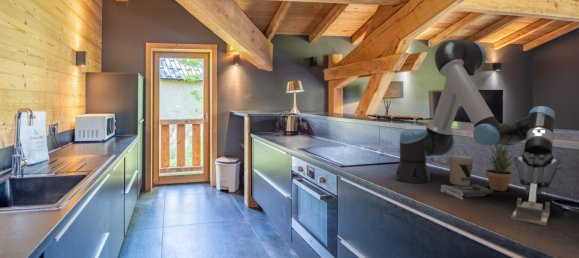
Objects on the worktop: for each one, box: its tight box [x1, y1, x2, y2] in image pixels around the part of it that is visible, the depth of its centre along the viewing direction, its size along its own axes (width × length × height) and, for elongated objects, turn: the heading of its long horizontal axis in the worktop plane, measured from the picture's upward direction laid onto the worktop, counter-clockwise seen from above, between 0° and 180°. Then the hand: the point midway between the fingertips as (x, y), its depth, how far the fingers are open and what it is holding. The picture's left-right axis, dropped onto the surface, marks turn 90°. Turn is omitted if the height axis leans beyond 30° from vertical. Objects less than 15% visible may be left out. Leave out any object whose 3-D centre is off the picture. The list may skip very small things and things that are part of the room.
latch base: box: [510, 197, 551, 226], centre depth 106 cm, size 14×8×4 cm, turn 139°
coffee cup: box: [448, 154, 474, 186], centre depth 150 cm, size 9×9×12 cm
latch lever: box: [521, 201, 544, 210], centre depth 106 cm, size 2×5×11 cm
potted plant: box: [485, 144, 515, 192], centre depth 139 cm, size 10×10×25 cm
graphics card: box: [440, 184, 494, 201], centre depth 132 cm, size 17×4×12 cm
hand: (532, 203), depth 104 cm, fingers closed
